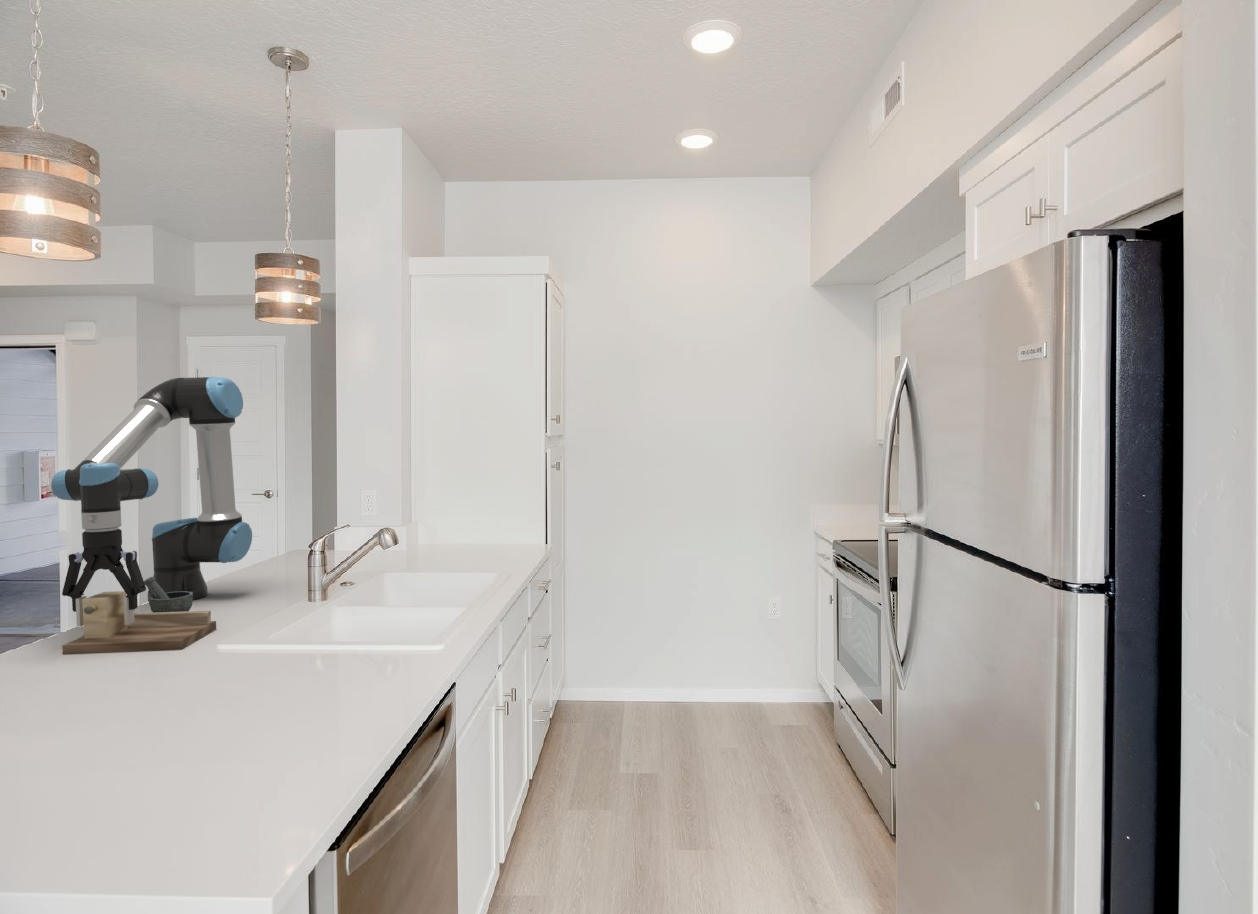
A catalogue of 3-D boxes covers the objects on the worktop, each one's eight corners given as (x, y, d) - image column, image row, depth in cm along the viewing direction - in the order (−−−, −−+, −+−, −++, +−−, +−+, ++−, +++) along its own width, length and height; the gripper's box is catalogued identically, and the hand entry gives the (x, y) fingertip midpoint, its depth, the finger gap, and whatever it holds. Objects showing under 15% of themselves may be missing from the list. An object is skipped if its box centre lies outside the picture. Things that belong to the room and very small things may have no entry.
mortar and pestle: (199, 616, 196) (198, 571, 195) (186, 625, 186) (185, 578, 186) (152, 619, 193) (150, 573, 193) (137, 628, 184) (135, 580, 183)
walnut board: (109, 633, 180) (108, 612, 180) (216, 629, 182) (215, 609, 182) (62, 654, 163) (61, 631, 163) (181, 649, 165) (180, 627, 165)
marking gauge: (110, 626, 178) (109, 590, 178) (132, 626, 178) (130, 589, 178) (77, 641, 166) (76, 601, 165) (101, 640, 166) (99, 601, 166)
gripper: (39, 533, 166) (43, 630, 167) (143, 530, 169) (147, 626, 170) (61, 528, 174) (65, 621, 175) (161, 526, 176) (164, 618, 177)
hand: (105, 624), depth 172 cm, fingers open, 10 cm apart
